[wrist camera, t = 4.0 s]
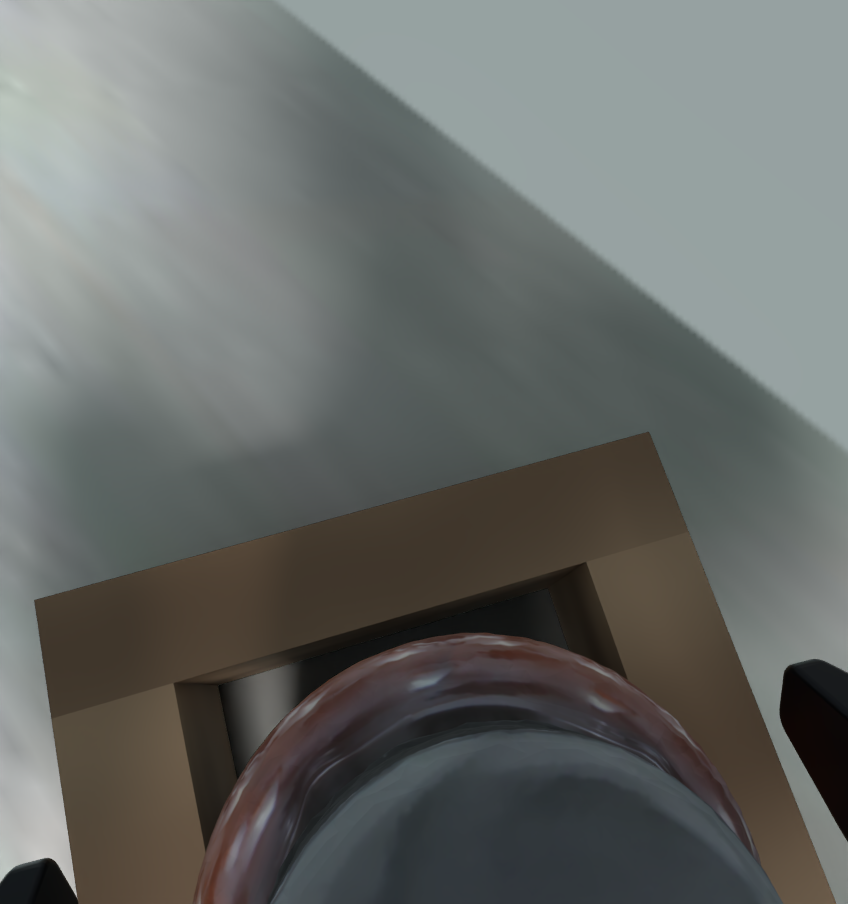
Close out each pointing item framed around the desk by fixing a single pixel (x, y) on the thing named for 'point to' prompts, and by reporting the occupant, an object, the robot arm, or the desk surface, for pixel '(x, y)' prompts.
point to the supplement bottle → (480, 791)
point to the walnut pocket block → (380, 614)
